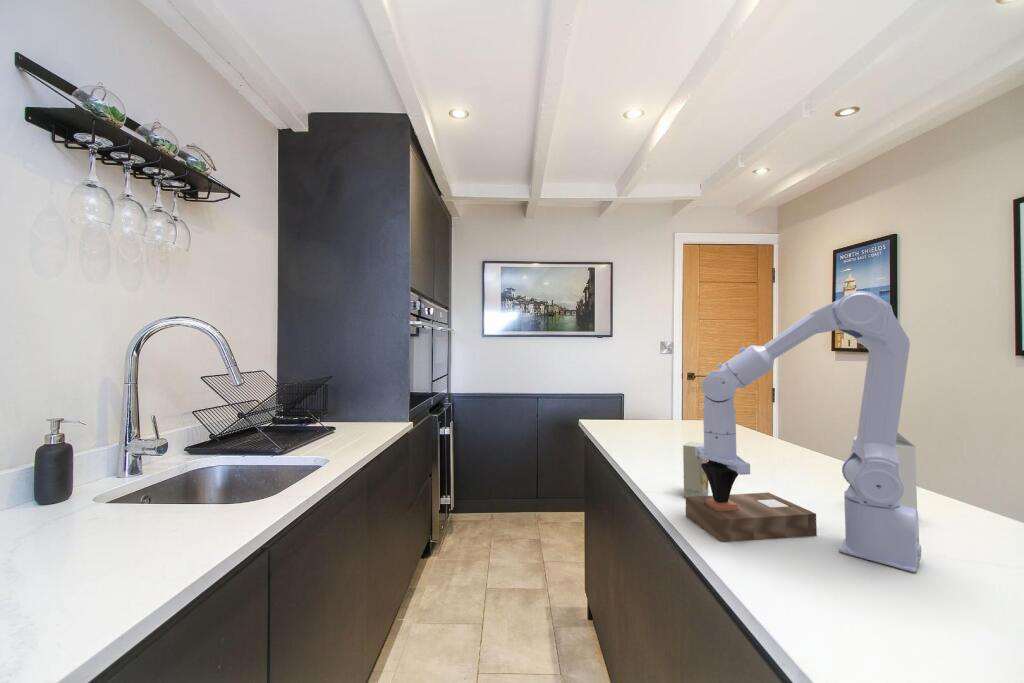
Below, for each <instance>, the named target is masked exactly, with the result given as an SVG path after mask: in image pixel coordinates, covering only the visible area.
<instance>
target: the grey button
mask: <svg viewBox="0 0 1024 683" xmlns="http://www.w3.org/2000/svg"><path fill="white" fill-rule="evenodd" d="M756 501H757V502H759V503H761V504H763V505H765V506H767V507H769V508H784V507H789V506H787V505H785V504H783V503H781V502H779V501H777V500H774V499H771V500H756Z"/></svg>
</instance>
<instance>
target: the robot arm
mask: <svg viewBox="0 0 1024 683" xmlns="http://www.w3.org/2000/svg"><path fill="white" fill-rule="evenodd" d="M898 320H899V319H897V317H896V315H895V314H894V311H893V307H892V305H891V304H890V303H888V302H887V301H885V300H884V299H883V298H881V297H879V296H878V295H876V294H875V293H873V292H870V291H863V290H858V291H854V292H849V293H847V294H846V295H844V296H842V297H841V298H838V299H836V300H835V301H833V302H831V303H829V304H827V305H824V306H822V307H820V308H818V309H816V310H814V311H812V312H810V313H808V314H806V315H805V316H804V317H802V318H801V319H800V320H798V321H796V322H795V323H794V324H792V325H791V326H789V327H788V328H787V329H785V330H784V331H783V332H781V333H779V334H778V335H777V336H775V337H774V338H773V339H770V340H769V341H768V342H767V343H765V344H764V345H754V344H753V345H752V344H751V345H749V346H748V347H745V346H742V347H741V348H739V349H738V351H737V352H738V353H737V354H736V355H734V356H732V358H730V359H729V360H726V362H724V363H722V362H719V363H718V364H717V365H716V367H717V368H718V369H719V370H712V371H709V373H707V374H706V375H705V376H704V377H703V380H702V382H701V388H702V392H703V394H704V397H703V404H704V407H703V408H702V411H703V413H702V414H703V415H702V416H703V417H702V419H703V421H702V422H703V443H704V446H695V456H699V458H702V459H705V460H708V462H707V463H702V464H701V467H702V468H703V470H704V472H705V474H706V476H707V478H708V485H709V486H710V490H711V493H712V494H711V495H712V496H713V498H714V501H716V502H718V503H724V502H728V500H729V496H730V495H731V491H732V489H733V485H734V483H735V481H736V479H737V477H738V476H743V475H744V476H745V475H751V464H750V462H748V461H745V460H744V459H742V457H740V456H739V455H737V419H736V418H737V415H736V408H735V406H734V405H735V404H734V403H735V401H734V400H735V399H734V398H735V397H734V395H735V394H736V390H737V389H744V388H746V387H748V386H749V385H750V384H752V383H753V382H755V381H756V380H758V379H760V378H761V377H763V376H764V375H766V374H767V373H769V372H771V371H772V370H773V369H774V363H775V359H777V358H778V357H780V356H781V355H783V354H785V353H787V352H788V351H791V349H794V348H795V347H796V346H798V345H800V344H801V343H803V342H805V341H807V340H808V339H809V338H812V336H814V335H817V334H821V333H828V332H834V331H837V330H839V331H840V332H843V333H844V334H847V335H849V336H851V337H853V338H854V339H855V340H856V341H857V342H858V343H860V344H861V345H862V346H863V347H865V348H866V349H867V350H868V354H867V363H866V368H865V370H866V371H865V377H864V384H863V391H862V400H861V406H860V413H859V417H858V418H859V419H858V426H857V433H856V434H857V435H856V436H857V439H856V441H855V442H854V444H853V443H852V446H851V451H850V455H849V456H848V457H847V458H846V460H845V461H844V462H843V464H842V467H841V472H842V476H843V478H844V480H845V481H846V482H847V483H848V484H849V486H848V488H847V489H846V490H845V491H844V493H843V495H844V497H843V498H844V526H845V528H844V529H845V530H844V531H845V539H844V540H843V542H842V543H841V545H840V546H839V548H838V551H839V552H840V553H843V554H847V555H849V556H853V557H857V558H861V559H864V560H869V561H871V562H876V563H879V564H883V565H886V566H890V567H893V568H897V569H901V570H904V571H908V572H911V573H917V571H918V568H919V563H920V559H921V558H922V545H921V544H920V525H919V522H920V521H919V520H920V519H919V511H918V508H917V509H914V508H910V507H906V506H903V505H901V504H900V499H901V497H902V495H903V492H904V486H903V483H902V481H901V479H900V477H899V460H898V457H897V453H896V449H895V445H896V438H897V432H898V431H899V425H900V424H899V423H900V416H901V409H902V403H903V397H904V389H905V388H904V387H905V382H906V375H907V366H908V361H909V353H910V346H911V342H910V338H909V336H908V335H907V333H906V331H905V330H904V328H903V326H902V325H901V324H900V322H899V321H898Z"/></svg>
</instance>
